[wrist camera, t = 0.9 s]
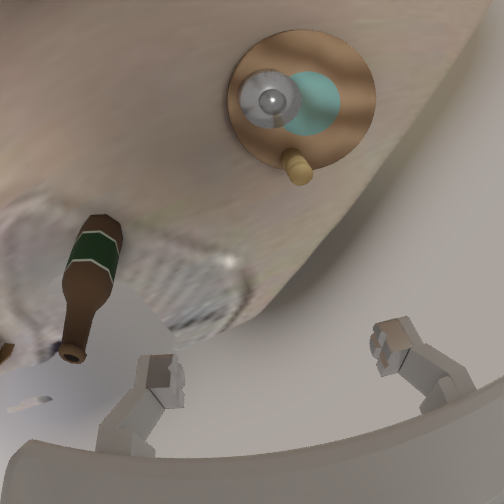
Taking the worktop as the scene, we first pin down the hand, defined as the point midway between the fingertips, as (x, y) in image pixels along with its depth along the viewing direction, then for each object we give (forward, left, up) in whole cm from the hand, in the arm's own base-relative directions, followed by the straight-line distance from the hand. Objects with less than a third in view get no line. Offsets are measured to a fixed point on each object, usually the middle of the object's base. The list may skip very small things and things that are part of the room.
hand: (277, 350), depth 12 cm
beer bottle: (+23, -16, -35) cm, 45 cm away
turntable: (-3, +11, -33) cm, 35 cm away
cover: (-3, +5, -31) cm, 31 cm away
